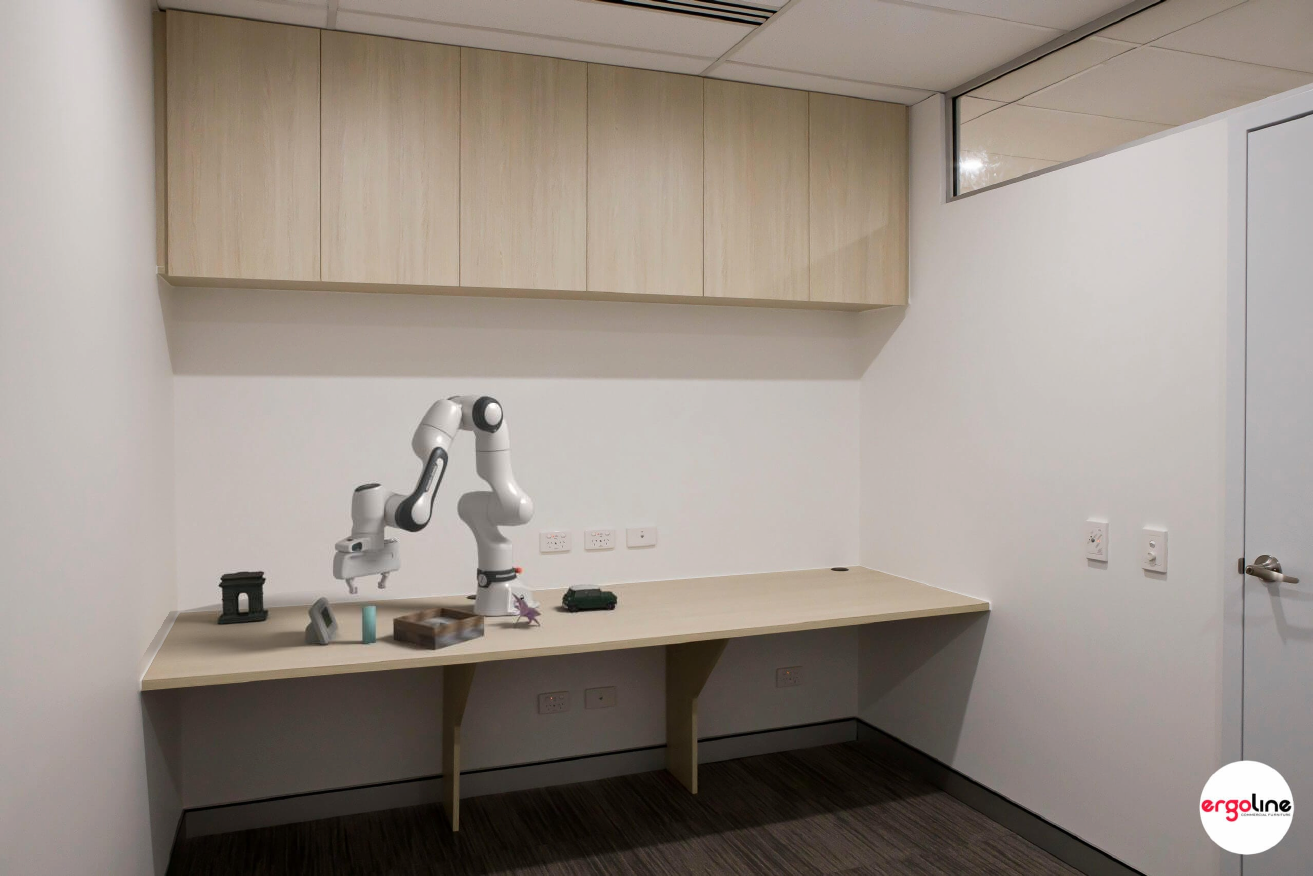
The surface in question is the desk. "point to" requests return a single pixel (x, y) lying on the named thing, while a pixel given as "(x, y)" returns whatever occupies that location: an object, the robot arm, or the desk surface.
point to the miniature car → (588, 597)
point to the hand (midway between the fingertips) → (367, 591)
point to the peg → (368, 624)
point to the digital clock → (321, 622)
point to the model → (233, 588)
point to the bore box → (438, 627)
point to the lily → (526, 610)
